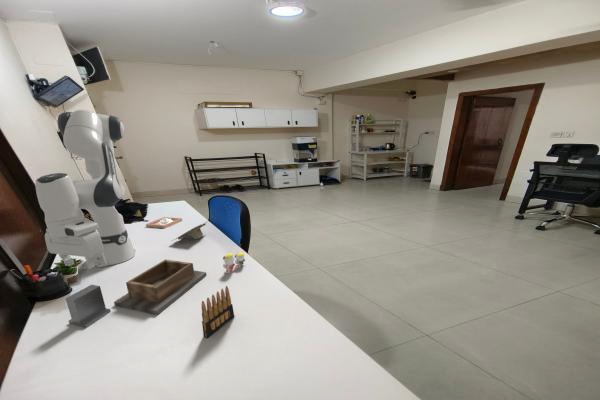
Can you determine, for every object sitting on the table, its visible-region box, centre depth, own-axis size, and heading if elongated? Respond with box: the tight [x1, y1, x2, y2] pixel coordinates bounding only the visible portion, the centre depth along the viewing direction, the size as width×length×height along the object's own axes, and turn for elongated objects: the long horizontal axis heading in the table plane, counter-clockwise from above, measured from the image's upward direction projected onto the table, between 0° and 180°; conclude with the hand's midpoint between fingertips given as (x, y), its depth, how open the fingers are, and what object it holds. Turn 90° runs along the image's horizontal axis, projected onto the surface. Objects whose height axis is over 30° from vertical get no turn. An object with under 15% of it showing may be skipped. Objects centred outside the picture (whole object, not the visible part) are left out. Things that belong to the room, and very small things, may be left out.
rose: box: [157, 218, 173, 225], centre depth 181 cm, size 10×4×10 cm
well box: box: [113, 259, 207, 316], centre depth 100 cm, size 20×26×8 cm
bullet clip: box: [201, 285, 235, 339], centre depth 78 cm, size 11×2×12 cm, turn 147°
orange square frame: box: [145, 216, 183, 229], centre depth 182 cm, size 16×16×2 cm
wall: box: [171, 221, 208, 242], centre depth 150 cm, size 19×10×17 cm
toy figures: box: [222, 252, 246, 274], centre depth 114 cm, size 12×4×8 cm, turn 144°
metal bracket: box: [65, 284, 111, 329], centre depth 85 cm, size 8×8×10 cm
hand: (80, 266), depth 82 cm, fingers open, 8 cm apart
